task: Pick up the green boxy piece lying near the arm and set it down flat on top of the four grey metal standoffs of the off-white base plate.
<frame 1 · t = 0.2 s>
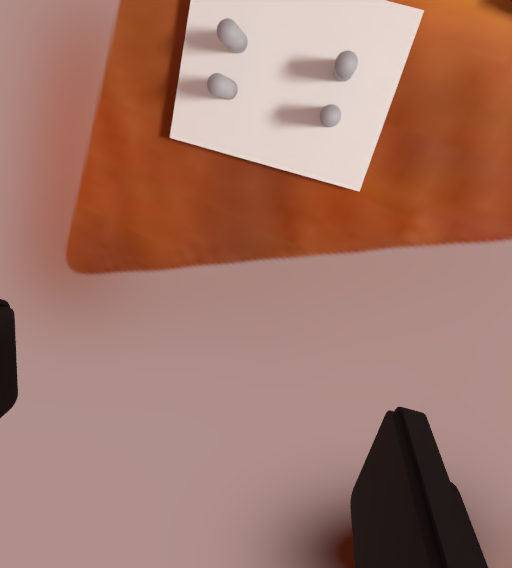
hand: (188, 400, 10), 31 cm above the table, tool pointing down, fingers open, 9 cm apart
standoff plate: (285, 82, 34), on the table
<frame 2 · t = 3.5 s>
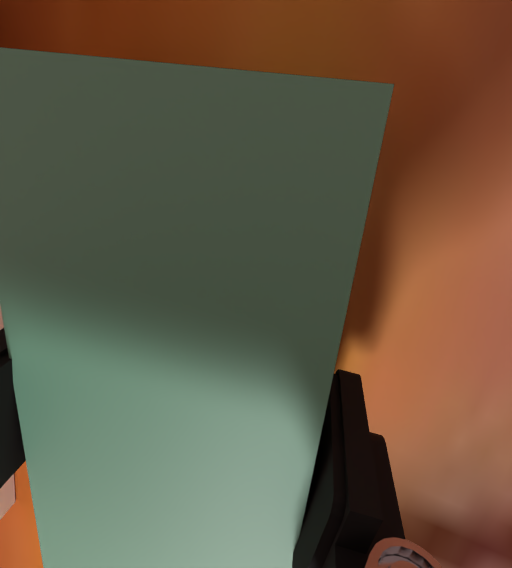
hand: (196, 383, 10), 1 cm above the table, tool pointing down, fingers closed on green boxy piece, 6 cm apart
green boxy piece: (211, 354, 11), on the table, touching gripper
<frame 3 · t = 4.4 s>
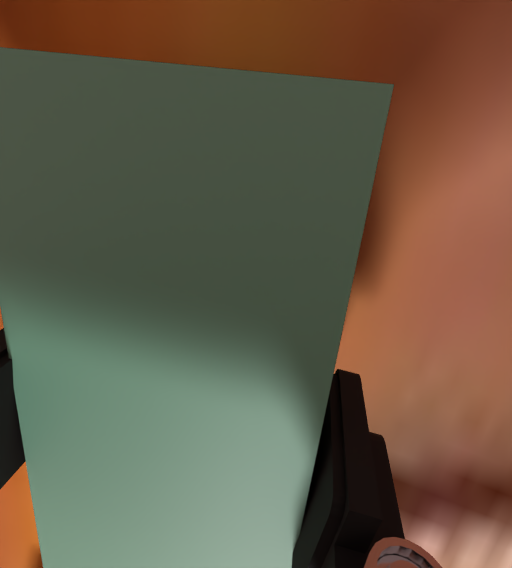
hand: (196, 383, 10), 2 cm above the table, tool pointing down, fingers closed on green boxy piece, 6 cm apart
green boxy piece: (211, 354, 11), point 1 cm above the table, touching gripper
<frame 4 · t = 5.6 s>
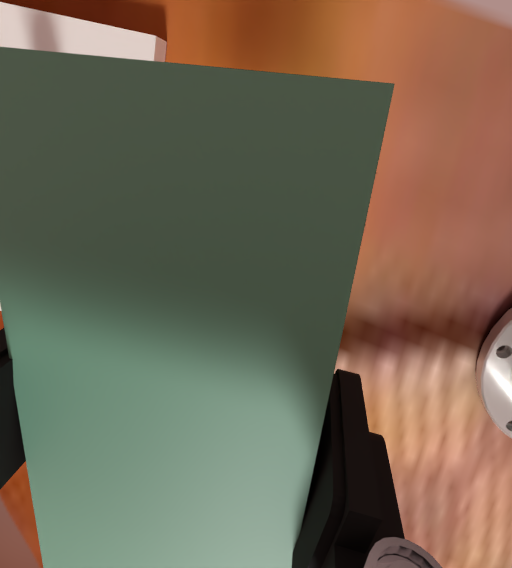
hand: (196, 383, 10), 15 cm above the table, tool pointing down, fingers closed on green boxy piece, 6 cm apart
standoff plate: (43, 183, 24), on the table
green boxy piece: (211, 354, 11), point 13 cm above the table, touching gripper
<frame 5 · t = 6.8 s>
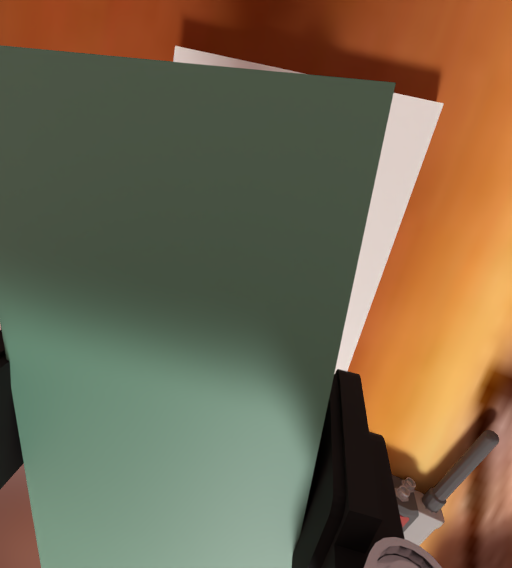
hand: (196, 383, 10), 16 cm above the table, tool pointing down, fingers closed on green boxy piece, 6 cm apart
standoff plate: (271, 234, 25), on the table
green boxy piece: (210, 355, 11), point 14 cm above the table, touching gripper
walkie-talkie: (372, 487, 32), on the table
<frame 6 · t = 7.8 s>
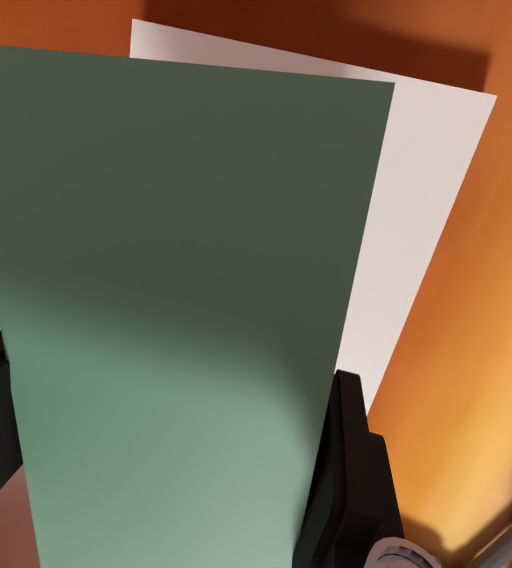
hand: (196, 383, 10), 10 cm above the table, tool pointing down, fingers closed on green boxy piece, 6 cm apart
standoff plate: (263, 263, 20), on the table
green boxy piece: (210, 355, 11), point 9 cm above the table, touching gripper
walkie-talkie: (386, 560, 26), on the table
when the fingers open (8 cm above the table, at t = 8.7 s): green boxy piece drops 1 cm, resting on standoff plate.
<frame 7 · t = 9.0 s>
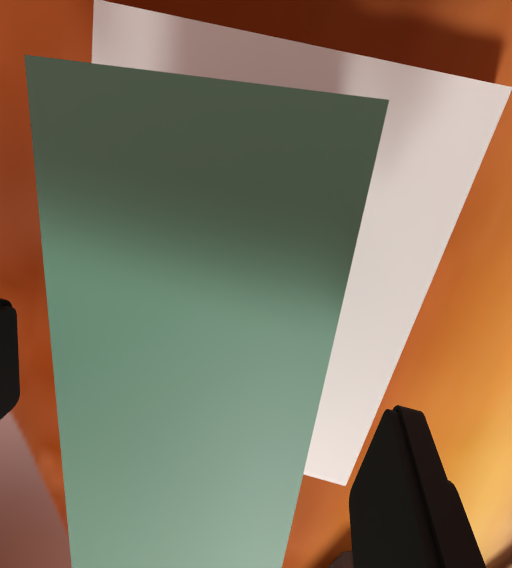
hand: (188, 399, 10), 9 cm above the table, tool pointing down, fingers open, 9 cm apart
standoff plate: (249, 275, 18), on the table
green boxy piece: (220, 335, 13), point 5 cm above the table, touching standoff plate
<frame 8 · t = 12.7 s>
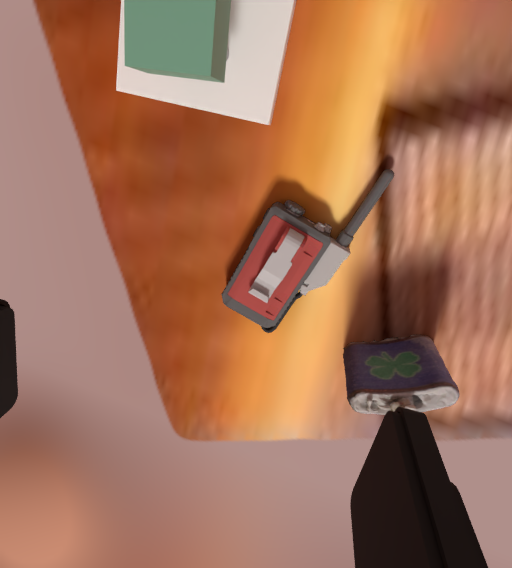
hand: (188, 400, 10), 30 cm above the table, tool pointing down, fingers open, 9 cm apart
flask: (386, 347, 42), on the table
walkie-talkie: (300, 241, 39), on the table
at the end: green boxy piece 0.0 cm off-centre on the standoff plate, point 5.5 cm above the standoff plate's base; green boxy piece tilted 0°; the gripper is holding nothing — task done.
